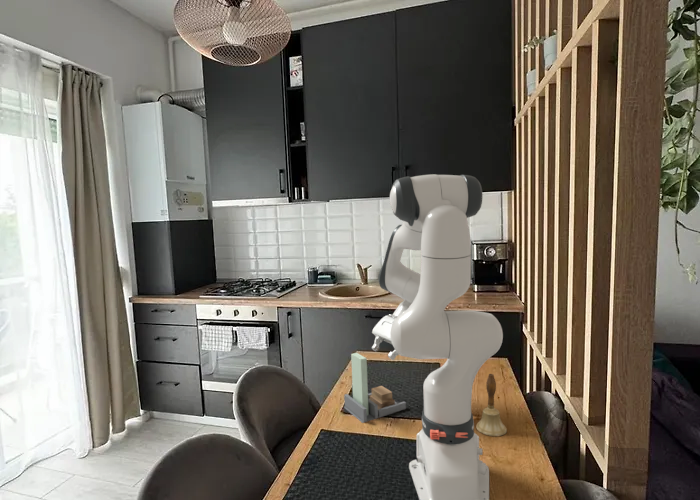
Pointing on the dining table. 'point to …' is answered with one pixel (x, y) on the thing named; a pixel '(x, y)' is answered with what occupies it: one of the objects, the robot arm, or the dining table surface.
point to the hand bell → (491, 413)
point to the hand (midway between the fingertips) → (381, 354)
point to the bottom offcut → (382, 405)
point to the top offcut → (381, 394)
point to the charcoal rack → (370, 409)
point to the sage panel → (360, 380)
